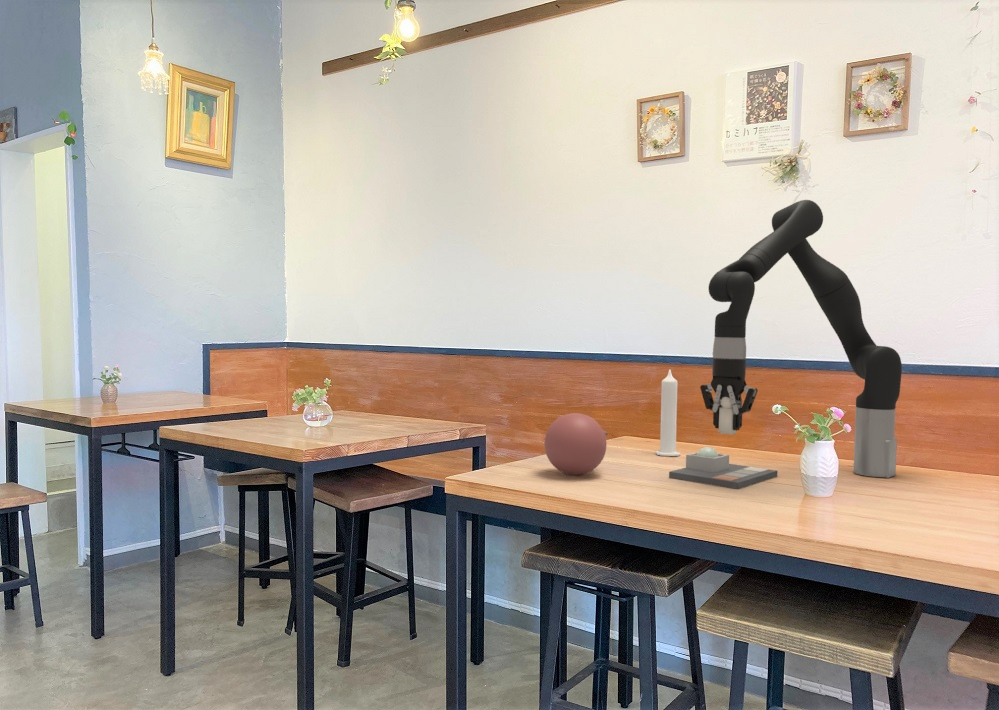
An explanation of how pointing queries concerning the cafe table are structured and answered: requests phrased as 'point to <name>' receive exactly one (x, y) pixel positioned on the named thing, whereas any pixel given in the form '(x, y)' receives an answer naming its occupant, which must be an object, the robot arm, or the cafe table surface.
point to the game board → (720, 472)
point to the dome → (707, 452)
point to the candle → (668, 417)
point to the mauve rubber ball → (575, 444)
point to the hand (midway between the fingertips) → (727, 428)
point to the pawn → (726, 417)
